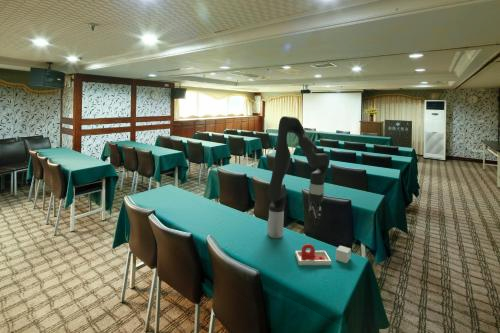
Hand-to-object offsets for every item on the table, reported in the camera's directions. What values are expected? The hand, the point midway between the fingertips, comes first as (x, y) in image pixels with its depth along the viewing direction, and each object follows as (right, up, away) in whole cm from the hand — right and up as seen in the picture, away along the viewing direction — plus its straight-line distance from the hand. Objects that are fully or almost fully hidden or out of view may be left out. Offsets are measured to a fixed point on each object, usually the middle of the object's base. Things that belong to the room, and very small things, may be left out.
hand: (313, 221), depth 148 cm
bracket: (0, -21, 0) cm, 21 cm away
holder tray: (0, -21, +2) cm, 21 cm away
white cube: (+16, -21, +3) cm, 27 cm away
